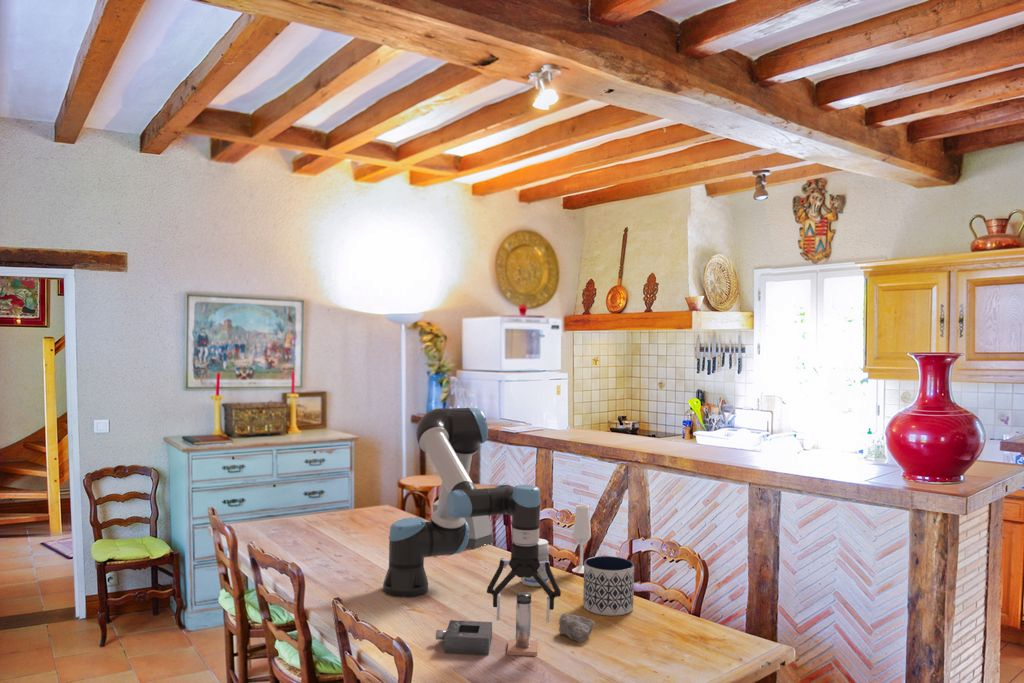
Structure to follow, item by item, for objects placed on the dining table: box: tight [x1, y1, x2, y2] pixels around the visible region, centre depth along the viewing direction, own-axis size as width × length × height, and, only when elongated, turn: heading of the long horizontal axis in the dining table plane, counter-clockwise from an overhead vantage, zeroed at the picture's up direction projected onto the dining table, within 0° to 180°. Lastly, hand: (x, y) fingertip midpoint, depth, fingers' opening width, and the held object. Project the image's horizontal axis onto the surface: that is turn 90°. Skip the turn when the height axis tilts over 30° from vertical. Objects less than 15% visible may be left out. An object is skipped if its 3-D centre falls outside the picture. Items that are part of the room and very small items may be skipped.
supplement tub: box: [520, 538, 550, 588], centre depth 266 cm, size 10×10×15 cm
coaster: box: [506, 638, 539, 657], centre depth 208 cm, size 8×8×1 cm
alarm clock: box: [432, 499, 494, 550], centre depth 318 cm, size 20×16×20 cm
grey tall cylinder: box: [515, 591, 532, 649], centre depth 208 cm, size 4×4×14 cm
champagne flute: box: [571, 504, 592, 574], centre depth 282 cm, size 7×7×24 cm
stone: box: [558, 613, 595, 643], centre depth 218 cm, size 10×8×6 cm
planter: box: [582, 555, 635, 617], centre depth 243 cm, size 16×16×14 cm
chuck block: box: [435, 619, 493, 656], centre depth 210 cm, size 15×12×4 cm
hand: (522, 620), depth 209 cm, fingers open, 13 cm apart
